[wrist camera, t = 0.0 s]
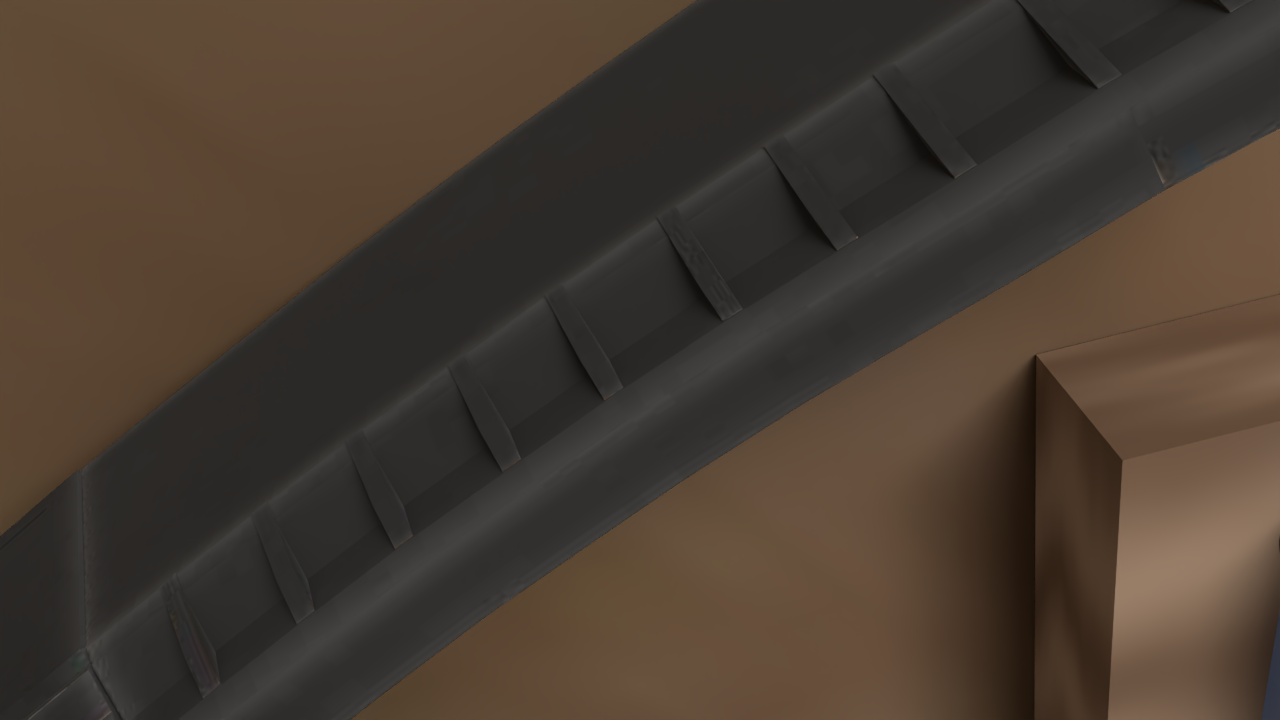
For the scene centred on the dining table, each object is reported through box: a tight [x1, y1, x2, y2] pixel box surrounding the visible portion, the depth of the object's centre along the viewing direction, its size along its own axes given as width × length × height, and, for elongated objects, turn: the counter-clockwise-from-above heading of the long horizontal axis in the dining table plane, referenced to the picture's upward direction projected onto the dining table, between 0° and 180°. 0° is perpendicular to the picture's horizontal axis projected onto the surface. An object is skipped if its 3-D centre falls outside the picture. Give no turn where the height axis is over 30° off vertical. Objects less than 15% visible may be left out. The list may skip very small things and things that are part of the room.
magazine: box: [0, 0, 1280, 720], centre depth 19 cm, size 17×3×30 cm
